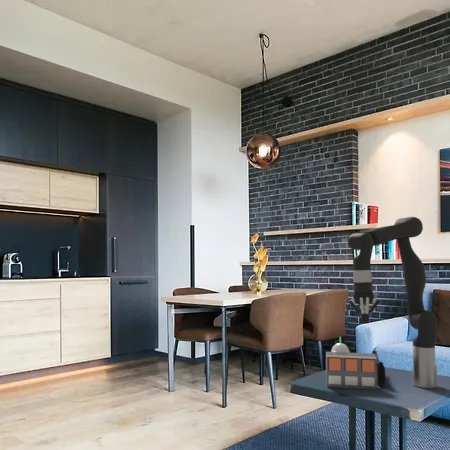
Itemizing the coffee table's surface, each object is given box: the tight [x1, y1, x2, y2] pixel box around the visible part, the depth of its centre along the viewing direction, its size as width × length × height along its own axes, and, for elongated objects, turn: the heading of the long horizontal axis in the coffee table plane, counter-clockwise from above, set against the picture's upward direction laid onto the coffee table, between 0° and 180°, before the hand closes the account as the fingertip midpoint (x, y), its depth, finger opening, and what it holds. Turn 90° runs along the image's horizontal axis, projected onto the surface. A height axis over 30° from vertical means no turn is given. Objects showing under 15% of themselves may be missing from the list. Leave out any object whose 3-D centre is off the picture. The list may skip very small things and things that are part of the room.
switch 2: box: [345, 358, 358, 371], centre depth 213 cm, size 5×5×5 cm
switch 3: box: [361, 359, 374, 372], centre depth 211 cm, size 5×5×5 cm
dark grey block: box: [325, 351, 378, 391], centre depth 214 cm, size 21×6×14 cm, turn 80°
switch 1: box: [328, 357, 341, 371], centre depth 214 cm, size 5×5×5 cm
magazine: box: [371, 350, 387, 386], centre depth 227 cm, size 17×3×30 cm
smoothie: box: [330, 336, 351, 353], centre depth 223 cm, size 8×8×20 cm
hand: (365, 322), depth 203 cm, fingers closed
